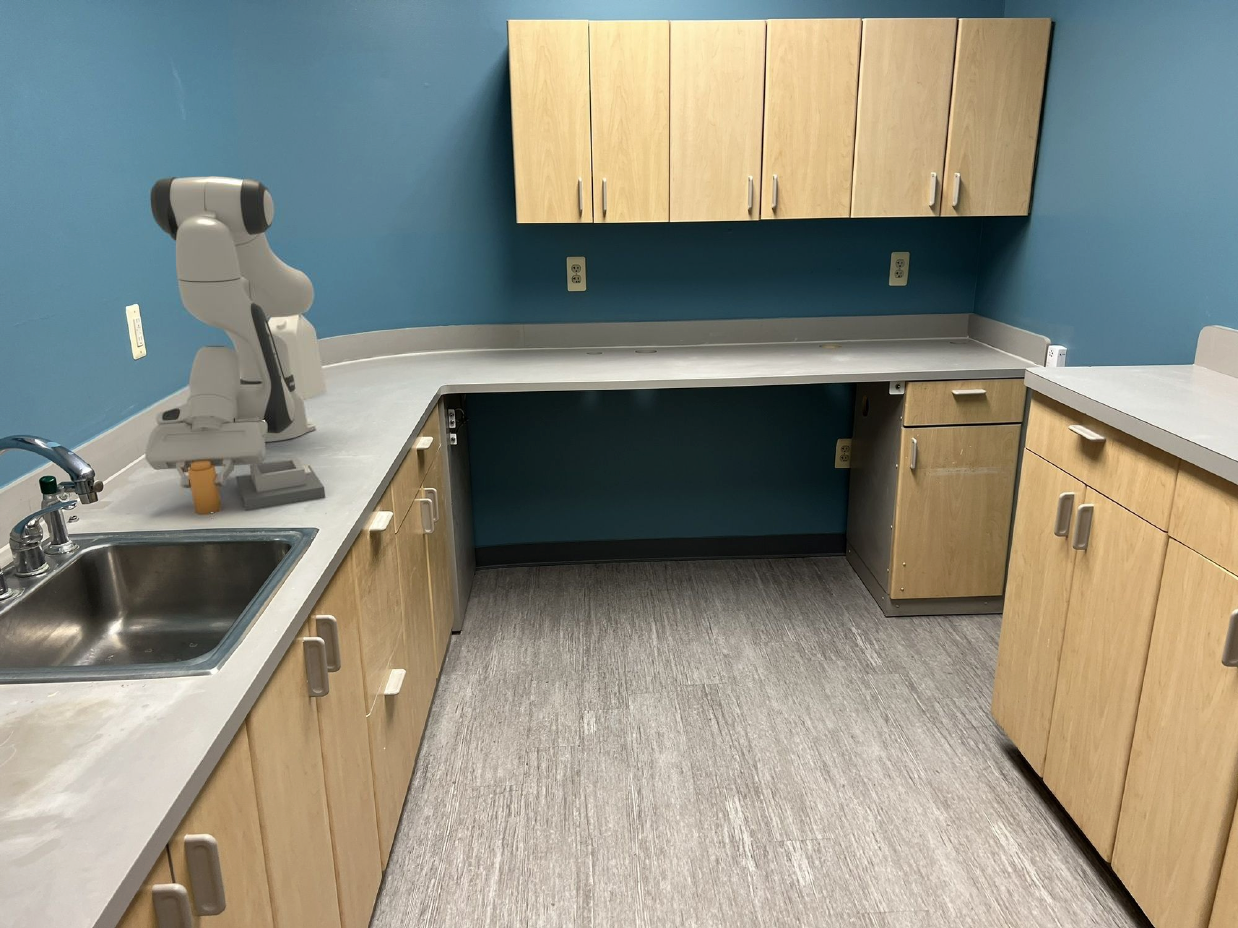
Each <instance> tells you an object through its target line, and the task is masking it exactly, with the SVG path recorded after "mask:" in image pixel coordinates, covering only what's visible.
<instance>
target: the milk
mask: <svg viewBox="0 0 1238 928" xmlns="http://www.w3.org/2000/svg"><path fill="white" fill-rule="evenodd" d="M268 324H269V327H270V330H271V333H272V334H274V335H277V336H278V337H280V338H281V339H283V340H284V341H285V343H286V345H287V347H288V353H289V361H290V368H291V374H292V375H293V377H294V380H295V392H296V393H297V394H298V395H300V396H301V397H303V400H304V401H306V400H309V399H311V398H313V397H316V396H318V395H320V394H322V393H325V392H327V387H326V381H325V377H324V376H325V375H324V371H323V365H322V358H321V354H320V353H321V352H320V348H319V343H318V337H317V331H316V329H315V327H314V326H313V325H312V323H311V322H310V321H309V320H307V318H306V317H305V316H304V315H303V314H302V313H301V314H297V315H293V316H289V317H273V318H269V320H268Z"/></svg>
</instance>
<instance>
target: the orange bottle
mask: <svg viewBox="0 0 1238 928" xmlns="http://www.w3.org/2000/svg"><path fill="white" fill-rule="evenodd" d="M187 473H188V476H189V479H190V485H191V488H190V490H191V494H192V495H191V496H192V501H193V507H194V511H195V512H196V514H198V515H209V514H208V513H210V514H212V513H211V512H215V513H217V512H219V510H220V509H221V508H223V507H222V502H221V495H220V490H219V486H216V484H215V483H214V479H215V474H217V473H216V466H213V465H211V464H210V461H197V462H193V463H191V468H188V472H187ZM221 510H222V509H221ZM221 510H220V511H221ZM216 511H217V512H216Z"/></svg>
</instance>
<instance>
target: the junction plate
mask: <svg viewBox="0 0 1238 928" xmlns="http://www.w3.org/2000/svg"><path fill="white" fill-rule="evenodd" d="M249 469H250V474H246V475H239V476H235V481H236V486H237V489H238V493H239V495H240V498H241V500H242V503H243V505H244V508H245V511H250V510H251V509H252V510H257V509H261V507H264V508H269V507H274V506H280V504H281V505H286V504H287V505H288V504H291V503H298V501H299V502H304V501H305V502H306V501H310V500H314V499H315V500H317V499H322V498H326V491H325V485H324V484H323V483H322V482H321V481H320V478H319V477H318V476H317V475H316V472H315V471H314V470H313V469H312V467H311V466H310V465H303V464H302V463H301V462H300V460H299V458H298V457H293V458H288V459H287V458H286V459H281V460H274V461H267V462H262V463H260V464H249Z"/></svg>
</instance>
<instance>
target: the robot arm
mask: <svg viewBox="0 0 1238 928" xmlns="http://www.w3.org/2000/svg"><path fill="white" fill-rule="evenodd" d="M149 199H150V202H149V204H150V205H149V206H150V209H151V213H152V217H153V220H154V222H155V223H156V224H157V226H159V228H160V229H161V230H162V231H163V232H165V233H166V234H167V235H169V236H170V237H171V239H173V240H174V241H175V266H176V267H175V268H176V277H177V282H178V290H179V295H180V298H181V299H180V300H181V301H182V305H183V307H184V308H185V310H187V312H188V313H190V315H192V316H193V317H194V318H196V319H197V320H199V321H200V322H202V323H204V324H206V325H208V326H210V327H214V328H217V329H219V330H223V331H224V332H225V333H226V334H227V336H228V338H230V340H231V342H232V344H233V347H234V349H233V348H230V347H228V346H226V345H225V346H224V345H223V346H222V345H206V346H203V347H201V348H200V349H198V350H197V352H196V354H195V357H194V360H193V362H192V366H191V371H190V375H189V376H190V377H189V383H188V387H189V391H190V392H189V396H188V397H187V400H186V403H184V404H182V405H179V406H176V407H173V408H171V409H167V410H164V411H160V412H159V413H156V417H155V421H156V423H157V426H155V427H154V428H153V429H152V431H151V432H150V433H149V437H148V441H147V444H146V449H145V453H144V454H145V455H144V457H145V460H146V462H147V464H149V466H150V467H151V468H152V469H153V470H156V471H158V470H160V471H161V470H175V469H176V471H177V472H178V474H179V476H180V486H181V488H182V489H191V485H190V479H189V475H186V473H188V469H189V468H191V463H193V462H197V461H210V464H211V465H213V466H215V467H223V468H222V469H221V471H220V473H216V474H215V479H214V483H215V484H216V486H218V487H225V486H226V485H227V478H229V476H230V475H231V474H232V472H233V471H235V466H239V465H240V466H241V465H242V466H243V465H252V464H260V463H264V461H265V460H266V454H267V452H266V442H267V443H268V442H276V441H277V442H279V441H285V440H289V439H293V438H297V437H301V436H302V435H304V434H306V433H308V432H312V431H315V430H316V429H317V428H316V425H315V424H313V423H311V422H310V421H308V418H307V413H306V412H307V411H306V406H305V400H303V397H301V396H300V395H298V394H297V393H296V392H295V380H294V377H293V375H292V374H291V368H290V361H289V353H288V347H287V345H286V343H285V341H284V340H283V339H281V338H280V337H278V336H277V335H274V334H272V333H271V330H270V327H269V324H268V322H269V320H268V319H270V318H273V317H289V316H293V315H297V314H301V315H302V314H304V313H307V312H308V311H309V310H310V308H311V307H312V305H313V302H314V300H315V290H314V286H313V284H312V281H311V280H310V278H309V277H308V276H307V274H305V273H304V272H303V271H301V270H299V269H296V268H294V267H292V266H289V265H288V264H287V263H285V262H283V261H282V259H280V258H279V257H278V256H277V255H276V254H275V252H273V251H272V249H271V247H270V244H269V242H268V240H267V237H266V234H265V233H266V232H267V230H268V229H270V228H271V226H272V223H273V218H274V214H275V205H274V201H273V198H272V195H271V193H270V190H269V189H268V187H266V186H265V184H263V183H262V182H261V181H259V180H255V179H251V178H247V177H246V178H244V179H241V178H234V177H227V176H217V175H216V176H213V175H211V176H192V177H179V178H177V177H176V176H172V177H170V176H169V177H164V178H161V179H158V180H157V181H156V182H155V183H154V184H153V186H152V187H151V190H150V198H149Z"/></svg>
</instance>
